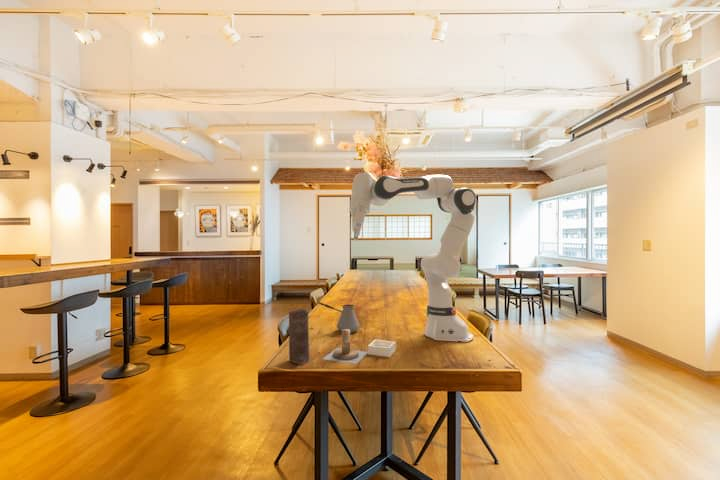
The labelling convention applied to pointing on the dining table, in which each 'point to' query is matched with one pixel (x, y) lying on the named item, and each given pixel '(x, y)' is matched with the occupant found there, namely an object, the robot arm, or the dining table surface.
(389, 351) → the dish
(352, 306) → the coffee pot
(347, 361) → the mat
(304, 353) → the candle
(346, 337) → the lid
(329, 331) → the dining table surface
